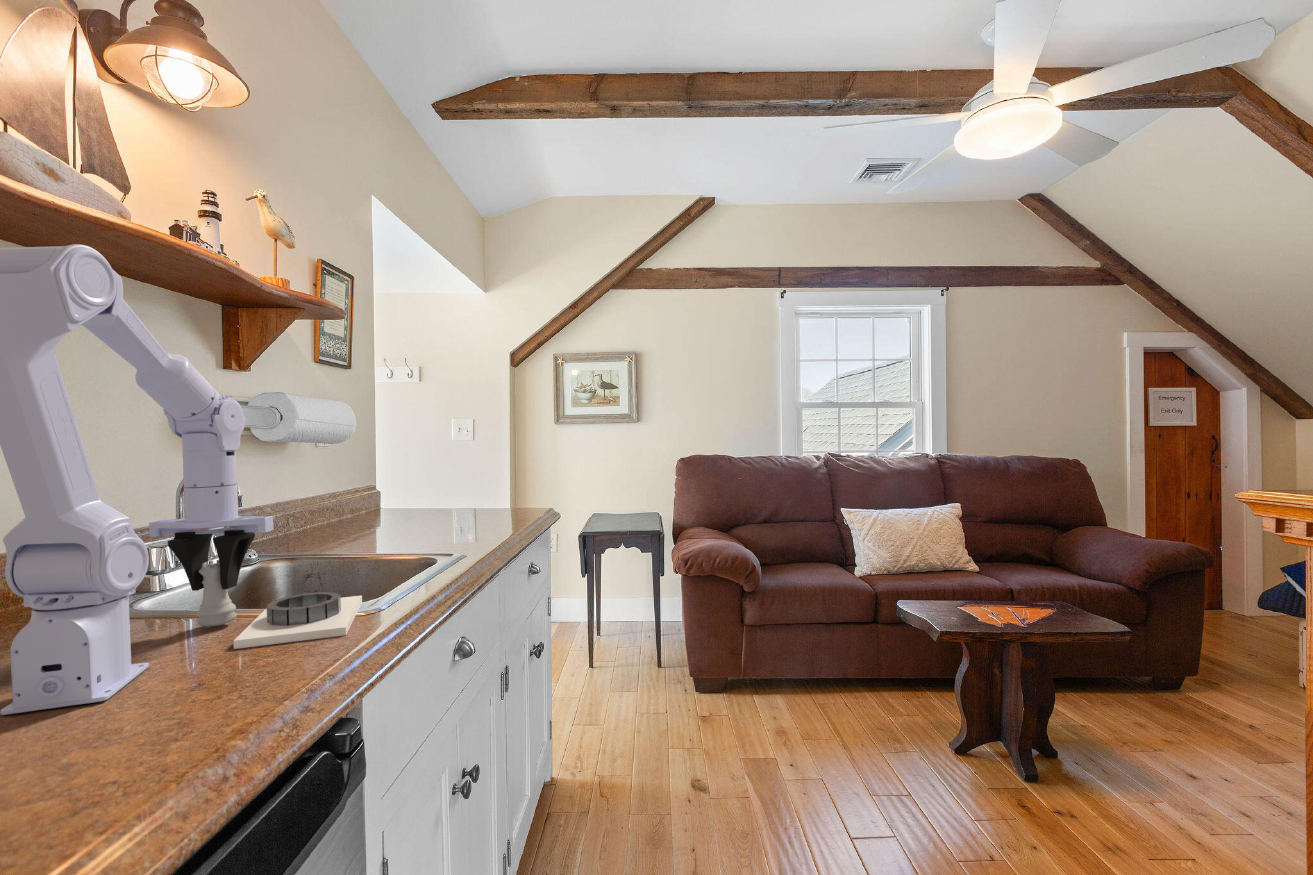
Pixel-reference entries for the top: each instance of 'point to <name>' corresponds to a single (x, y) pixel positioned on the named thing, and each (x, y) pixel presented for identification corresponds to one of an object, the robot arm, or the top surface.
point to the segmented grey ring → (303, 608)
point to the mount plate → (299, 627)
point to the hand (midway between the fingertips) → (214, 588)
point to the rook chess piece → (214, 598)
